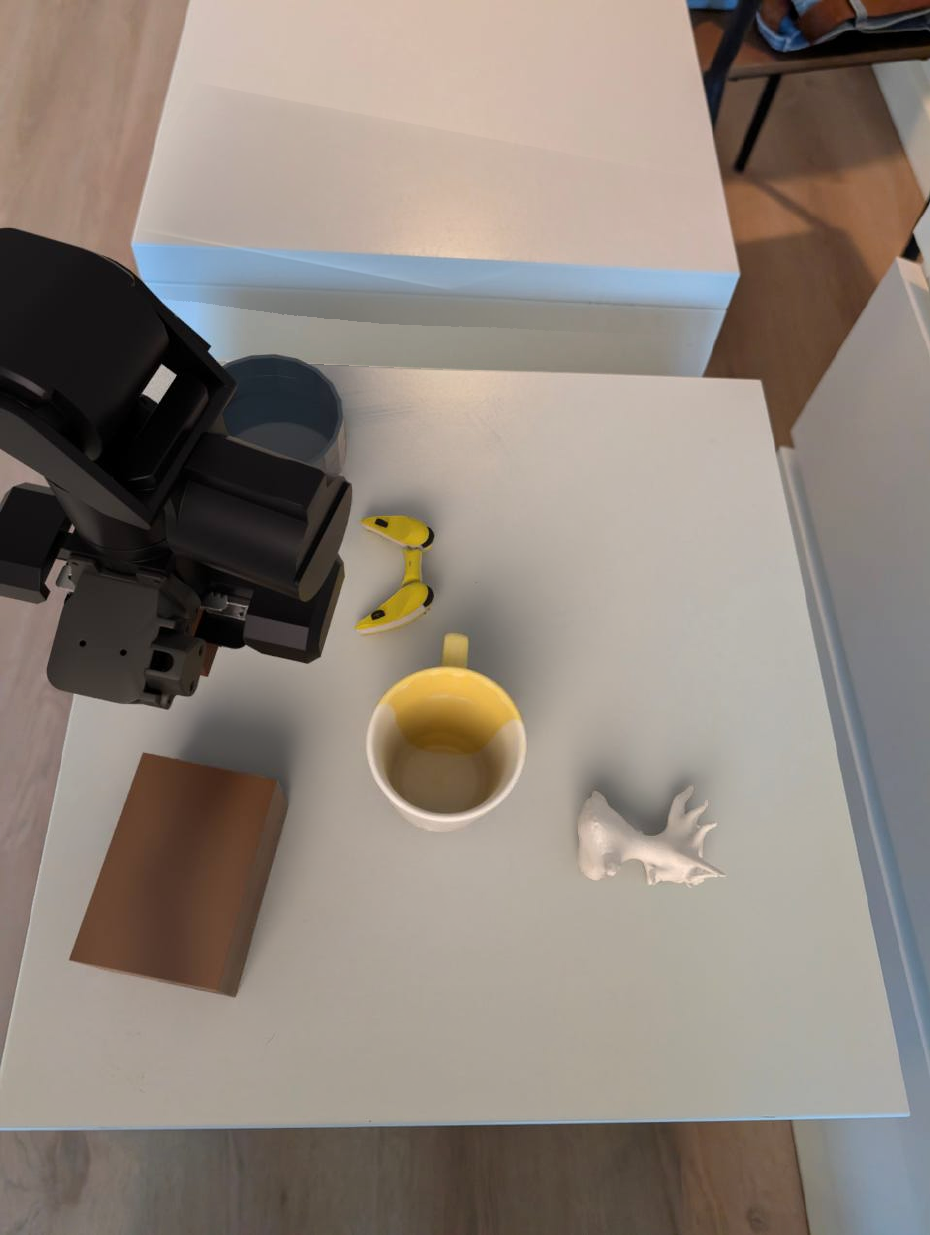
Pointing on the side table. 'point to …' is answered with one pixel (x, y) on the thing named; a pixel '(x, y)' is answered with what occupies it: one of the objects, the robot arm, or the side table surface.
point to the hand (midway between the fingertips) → (194, 633)
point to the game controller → (413, 592)
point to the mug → (446, 743)
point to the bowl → (286, 409)
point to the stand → (184, 876)
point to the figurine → (644, 843)
